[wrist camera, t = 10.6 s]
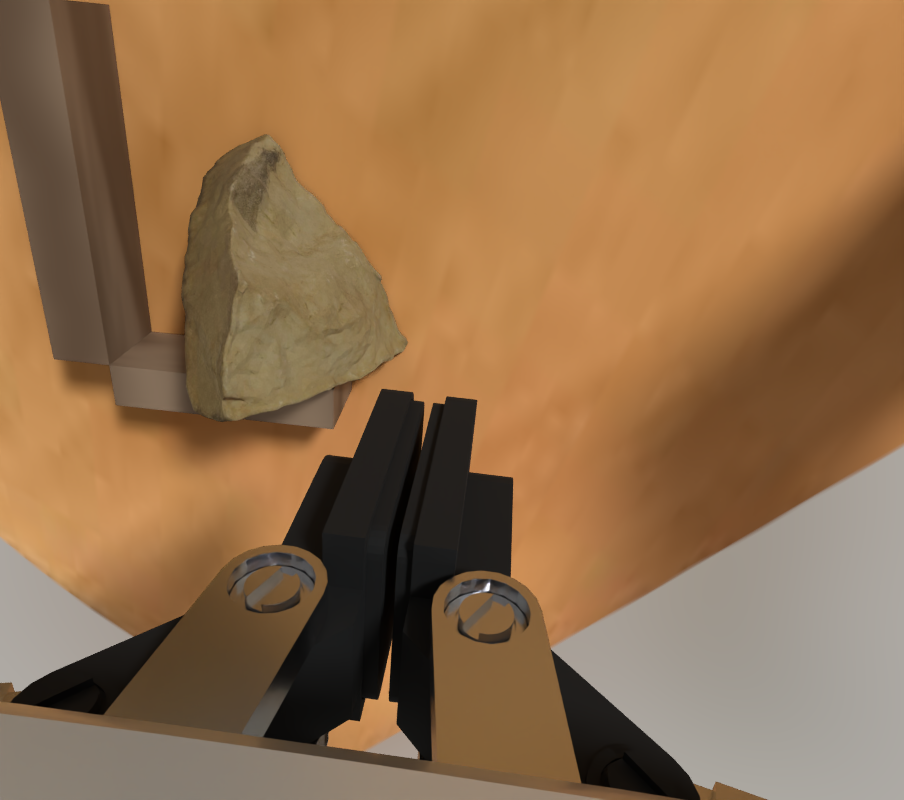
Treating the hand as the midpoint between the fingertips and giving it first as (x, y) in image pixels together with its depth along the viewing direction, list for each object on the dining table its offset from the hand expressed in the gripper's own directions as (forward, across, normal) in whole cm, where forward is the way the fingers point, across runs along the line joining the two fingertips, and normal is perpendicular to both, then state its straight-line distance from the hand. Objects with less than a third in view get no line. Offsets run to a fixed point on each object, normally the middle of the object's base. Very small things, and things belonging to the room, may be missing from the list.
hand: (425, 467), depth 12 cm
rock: (+20, +7, +2) cm, 22 cm away
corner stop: (+20, +12, +1) cm, 23 cm away
